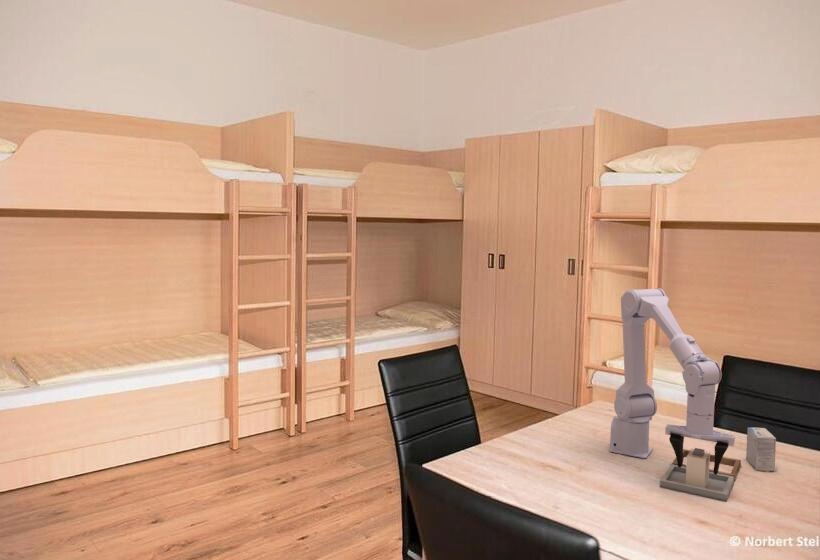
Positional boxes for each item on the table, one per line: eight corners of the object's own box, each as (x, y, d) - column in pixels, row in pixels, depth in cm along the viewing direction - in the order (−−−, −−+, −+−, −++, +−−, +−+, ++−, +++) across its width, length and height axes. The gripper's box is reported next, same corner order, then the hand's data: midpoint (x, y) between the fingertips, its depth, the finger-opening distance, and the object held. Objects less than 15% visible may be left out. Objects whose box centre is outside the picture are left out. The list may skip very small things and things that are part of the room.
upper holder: (671, 469, 159) (672, 463, 159) (681, 454, 169) (681, 448, 169) (734, 481, 151) (734, 475, 151) (740, 465, 161) (741, 459, 161)
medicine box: (775, 472, 157) (777, 437, 156) (755, 470, 158) (757, 436, 157) (764, 460, 165) (765, 427, 164) (745, 459, 166) (747, 426, 165)
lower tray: (659, 487, 148) (660, 480, 148) (670, 470, 158) (671, 464, 158) (726, 501, 140) (726, 494, 140) (733, 483, 150) (734, 476, 150)
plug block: (685, 485, 148) (686, 452, 147) (690, 476, 153) (691, 445, 152) (704, 489, 146) (705, 456, 145) (708, 480, 151) (710, 448, 150)
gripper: (663, 411, 148) (661, 468, 149) (732, 422, 140) (729, 482, 141) (669, 404, 154) (667, 458, 155) (736, 414, 146) (734, 471, 147)
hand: (697, 469), depth 149 cm, fingers open, 7 cm apart
